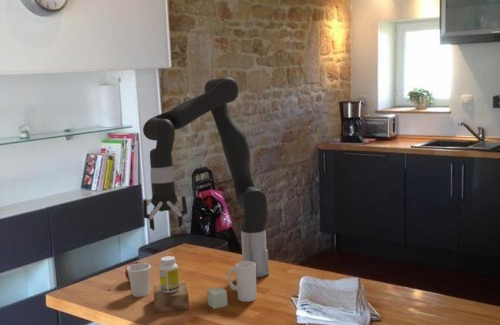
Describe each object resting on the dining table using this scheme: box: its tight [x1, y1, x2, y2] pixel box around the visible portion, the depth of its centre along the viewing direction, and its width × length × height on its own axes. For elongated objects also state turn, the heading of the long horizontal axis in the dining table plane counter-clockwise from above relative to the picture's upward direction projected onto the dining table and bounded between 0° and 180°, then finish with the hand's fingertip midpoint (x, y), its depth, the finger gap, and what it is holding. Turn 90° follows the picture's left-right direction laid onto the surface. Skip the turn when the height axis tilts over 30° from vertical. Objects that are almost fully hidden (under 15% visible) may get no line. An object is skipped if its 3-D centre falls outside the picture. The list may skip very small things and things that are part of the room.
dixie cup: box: [126, 262, 152, 298], centre depth 200 cm, size 8×8×10 cm
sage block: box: [206, 286, 228, 310], centre depth 187 cm, size 5×5×5 cm
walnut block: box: [152, 282, 190, 314], centre depth 189 cm, size 11×11×5 cm
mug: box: [227, 260, 257, 303], centre depth 191 cm, size 10×7×12 cm, turn 71°
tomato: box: [124, 261, 143, 282], centre depth 212 cm, size 9×9×8 cm
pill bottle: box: [158, 255, 180, 293], centre depth 188 cm, size 6×6×11 cm
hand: (166, 228), depth 186 cm, fingers open, 8 cm apart
